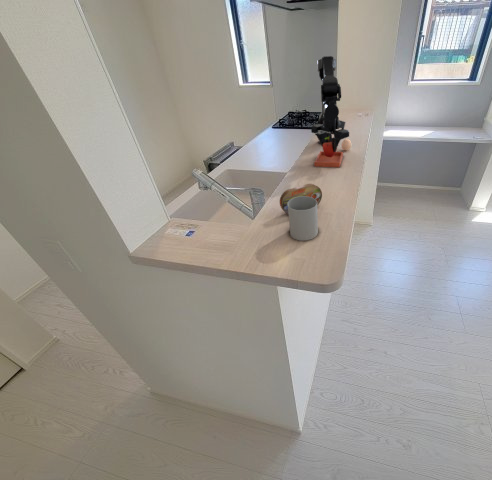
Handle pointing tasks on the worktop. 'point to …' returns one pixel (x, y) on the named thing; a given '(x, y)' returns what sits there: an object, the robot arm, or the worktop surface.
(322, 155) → the tray
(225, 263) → the worktop surface
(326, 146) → the apple
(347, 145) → the egg
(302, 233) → the cup
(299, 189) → the tin
